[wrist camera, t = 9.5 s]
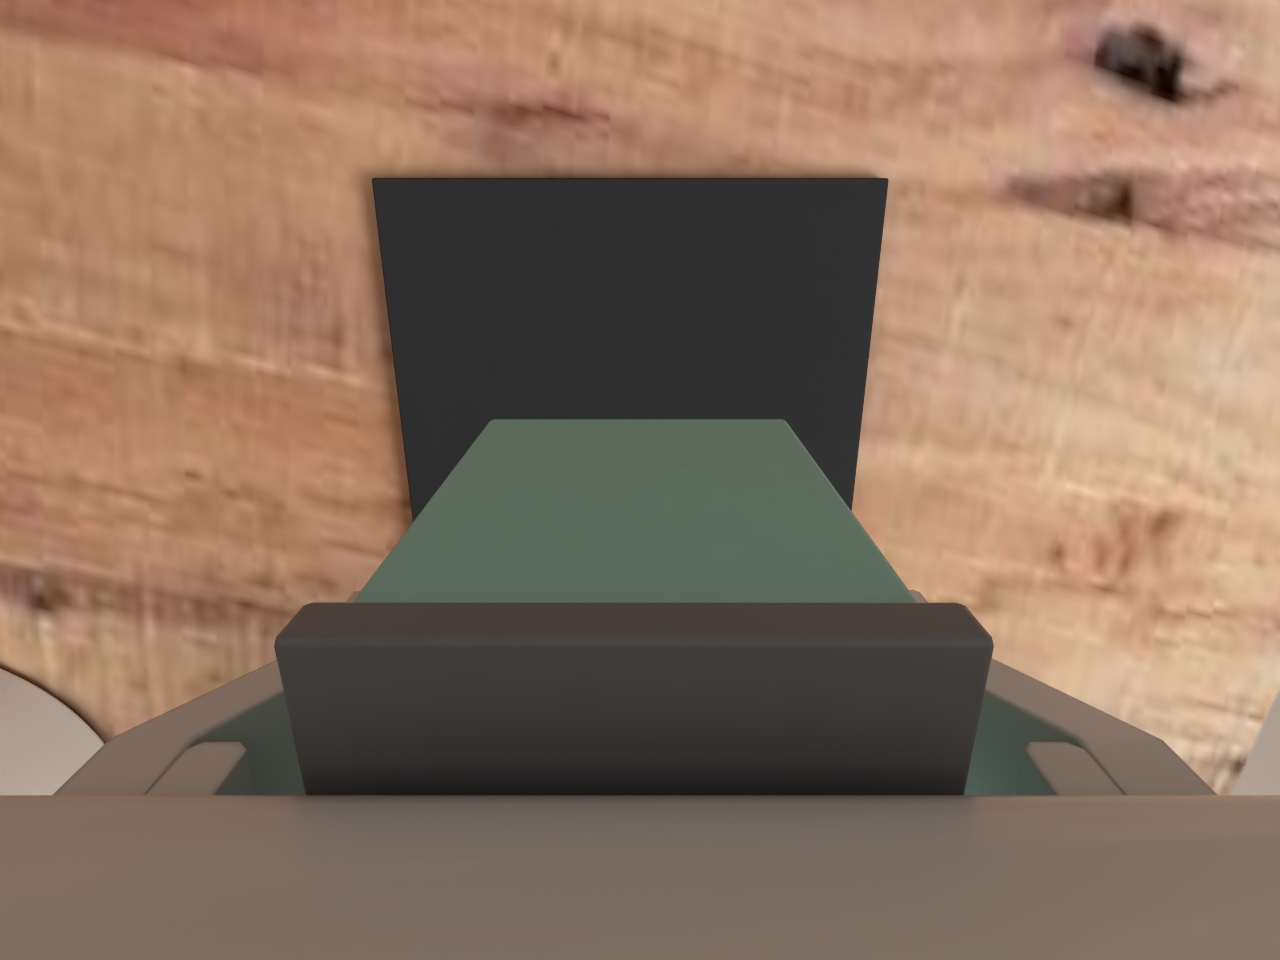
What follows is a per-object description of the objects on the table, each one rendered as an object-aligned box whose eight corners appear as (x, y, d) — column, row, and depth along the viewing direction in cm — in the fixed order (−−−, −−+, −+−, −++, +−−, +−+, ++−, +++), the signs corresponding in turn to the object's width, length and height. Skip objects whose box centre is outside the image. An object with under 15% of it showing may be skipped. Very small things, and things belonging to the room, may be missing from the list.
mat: (421, 556, 28) (417, 562, 28) (376, 178, 23) (371, 178, 23) (842, 555, 28) (846, 561, 28) (884, 179, 24) (889, 178, 23)
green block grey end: (498, 677, 14) (366, 1102, 7) (476, 406, 12) (268, 640, 5) (777, 678, 14) (905, 1102, 7) (798, 406, 12) (999, 640, 5)
